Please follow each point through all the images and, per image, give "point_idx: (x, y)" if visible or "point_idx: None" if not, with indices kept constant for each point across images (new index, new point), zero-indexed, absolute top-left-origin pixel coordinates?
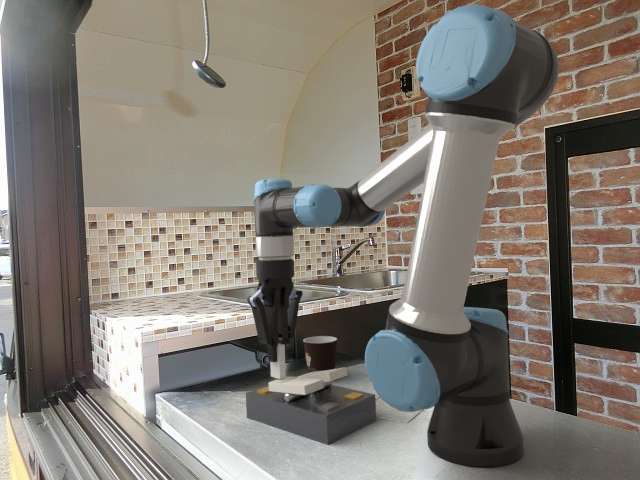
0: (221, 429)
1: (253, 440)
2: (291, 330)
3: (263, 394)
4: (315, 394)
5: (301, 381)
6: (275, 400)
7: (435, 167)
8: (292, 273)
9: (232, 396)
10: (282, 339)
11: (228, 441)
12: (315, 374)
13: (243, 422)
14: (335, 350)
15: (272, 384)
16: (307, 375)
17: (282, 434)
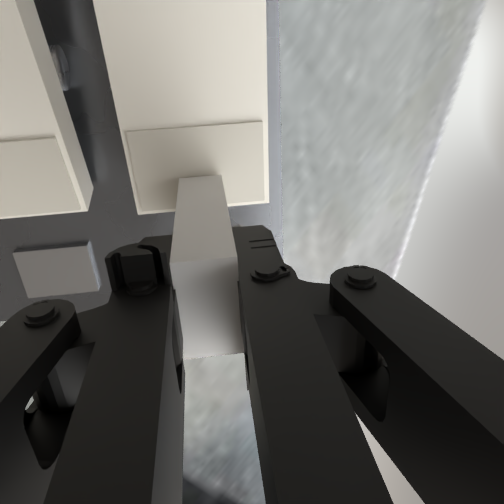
0: (378, 221)
1: (387, 60)
2: (35, 352)
3: (252, 224)
4: (76, 22)
5: (177, 11)
6: (273, 116)
7: None
8: None
9: (184, 418)
10: (173, 307)
11: (434, 122)
12: (7, 72)
13: (301, 220)
14: None
15: (268, 171)
16: (37, 137)
17: (291, 17)
